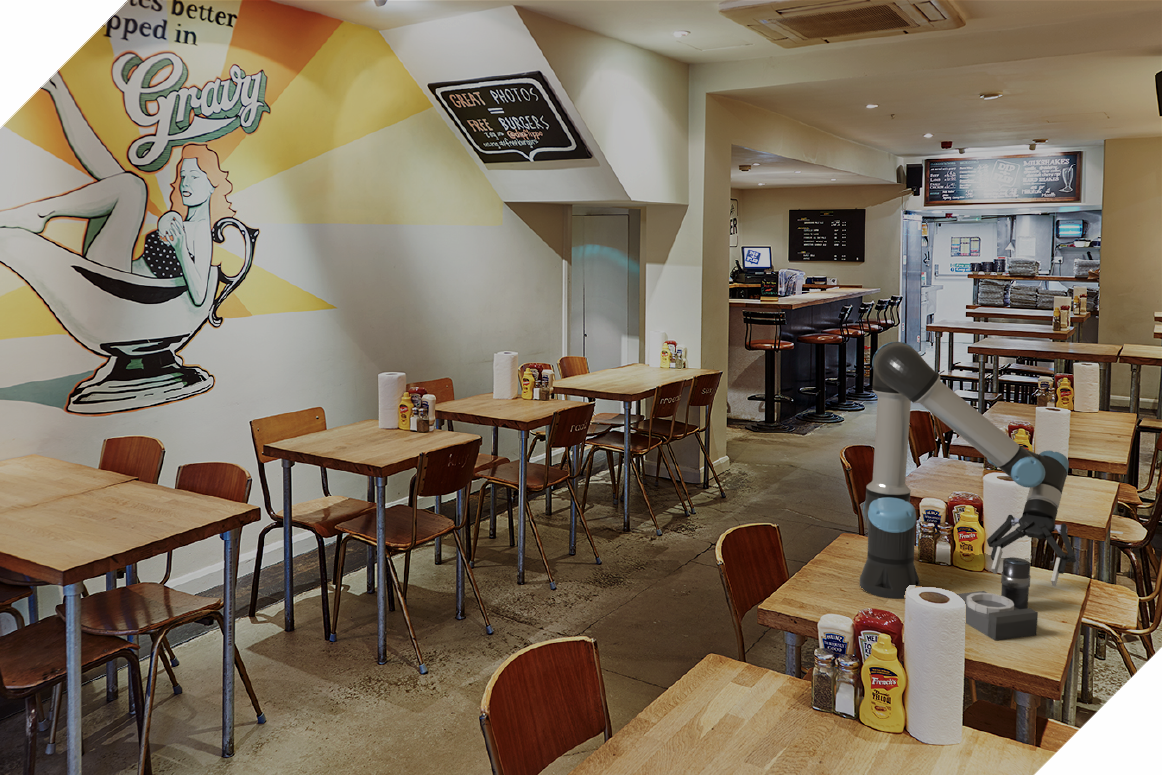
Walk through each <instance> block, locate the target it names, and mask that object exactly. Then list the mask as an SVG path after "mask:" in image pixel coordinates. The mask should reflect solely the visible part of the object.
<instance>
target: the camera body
mask: <svg viewBox="0 0 1162 775" xmlns="http://www.w3.org/2000/svg"><path fill="white" fill-rule="evenodd" d="M956 594H957V595H959V596H960V597H961V598H962V599H963V600H964V601H965V604H966V623H965V624H966V625H968V626H970V627H972V628H974V629H975V630H977V631H978V632H980V633H982V634H984V636H987V637H988V638H990V639H992V640H994V641H1003V640H1011V639H1020V638H1027V637H1034V636H1035V637H1036V636H1037V634H1038V633H1037V632H1038V618H1039V617H1038V615H1039V612H1038V611H1036V610H1034V609H1032V608H1030V607H1029V608H1027V609H1018V608H1016V607H1014V603H1013V601H1012V600H1010V599H1008V598H1006V597H1004V596H1001V595H999V594H996V593H990V592H987V591H985V590H982V591H981V590H979V591H971V592H961V593H956Z"/></svg>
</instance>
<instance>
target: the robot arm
mask: <svg viewBox="0 0 1162 775" xmlns="http://www.w3.org/2000/svg"><path fill="white" fill-rule="evenodd" d="M871 363H872V364H871V365H872V369H873V372H872V373H873V377H872V391H873V393H874V394H875V395H876V396H877V404H876V407H877V408H876V418H875V419H876V420H875V434H874V452H873V453H874V454H873V468H872V469H873V470H872V480H871V482H869V483H868V484H866V489H865V501H864V503H863V507H862V509H863V512H862V513H863V518H864V520H865V524H866V527H867V557H866V561H865V563H864V565H863V568H862V572H861V574H860V575H859V576H860V577H859V587H860V586H861V588H863V589H864V590H865V591H867V592H869V593H871V594H870V595H872V594H873V596H875V595H876V597H880V598H885V599H895V600H899V599H900V600H903V599H904V595H905V591H906V588H907V587H908V586H909V585H916V586H920V587H921V583H920V580H919V576H918V572H917V569H916V566H915V563H914V562H915V540H916V539H915V538H916V536H915V534H916V522H917V514H916V508H915V506H914V505H913V504H912V503H911V489H910V487H909V486H908V485H907V484H906V476H907V462H908V449H909V447H908V446H909V435H910V434H909V433H910V432H909V431H910V420H911V419H910V418H911V405H912V404H920V405H921V406H923V407H924V408H925V409H926V410H928V411H929V412H930V413H931V414H932V415H934V417H936V418H938V419H939V420H940V421H941V422H942V423H944V424H945V426H947V427H948V428H949V429H951V430H952V431H954V433H956V434H957V435H958V436H959V437H961V438H962V439H963V440H965V442H967V443H968V444H969V445H970V446H972V447H973V448H974V449H976V450H977V451H978V452H979V453H980V454H982V455H983V456H984V457H985V458H986V459H987V462H988V464H990V465H992V466H994V467H995V468H998V469H999V470H1001V471H1002V472H1003V473H1005V474H1006V475H1007V476H1009V478H1010V479H1012V481H1013V482H1015V483H1016V484H1017V485H1018V486H1020V487H1023V488H1029V489H1028V493H1027V497H1026V502H1025V503H1024V504H1025V505H1024V508H1023V511H1022V515H1021V517H1019V518H1018V517H1014V516H1013V515H1012V514H1009V515H1007V518H1006V520H1005V521H1004V522H1003V523H1002V524H1001V525H1000V526H999V527H998V528H997V529H995V531H994V532H993V533H992V534H991V535H990V536H989V537H988V538H986V543H987V546H988V547H989V548H992V549H991V553H990V558H991V560H992V565H991V567H990V568H991V571H992V573H993V574H994V575H998V571H999V568H1000V563H1001V560H1002V556H1003V549H1004V548H1006V547H1007V546H1009V545H1011V544H1012V543H1014V542H1015V541H1017V540H1018V539H1021V538H1024V537H1026V536H1027V538H1030V539H1031V538H1032V539H1033V538H1034V539H1035V538H1036V539H1038V540H1042V539H1045V541H1046V542H1047V543H1048V544H1049V546H1050V547H1051V549H1052V550H1053V552H1054V553H1055V554H1056V556H1057V557H1056V559H1055V563H1054V567H1053V571H1052V575H1051V579H1050V582H1051V584H1052V587H1056V586H1057V584H1058V579H1059V575H1060V574H1062V575H1064V573H1065V570H1066V566H1067V564H1068V563H1076V562H1077V559H1076V555H1075V553H1074V552H1075V551H1074V550H1073V546H1072V543H1071V541H1070V538H1069V537H1068V526H1067V524H1066V523H1061V524H1055V523H1056V519H1057V515H1058V509H1059V508H1060V504H1061V499H1062V495H1063V490H1064V487H1065V483H1066V479H1067V478H1068V472H1069V466H1070V465H1069V459H1068V457H1067V456H1066V455H1064V454H1062V453H1061V452H1059V451H1053V450H1043V451H1040V453H1039V454H1038V453H1036V452H1033V451H1032V450H1029V449H1027V448H1025V447H1023V446H1021V445H1020V444H1019V443H1018V442H1016V441H1015V440H1014V439H1012V438H1011V437H1010V436H1009V435H1008V434H1007V433H1005V432H1004V431H1003V430H1001V429H1000V428H999V427H998V426H997V425H995V424H994V423H993V422H991V421H990V420H989V419H988V418H987V417H985V416H984V415H983V414H982V413H981V412H980V411H978V410H977V409H976V408H974V407H973V406H972V405H970V404H969V402H967V401H966V400H965V399H963V398H962V397H961V396H960V395H958V394H957V393H956V392H955V391H954V390H952V389H951V388H950V387H949V386H947V385H946V384H945V383H944V382H943V381H942V380H941V375H940V374H939V373H938V372H936V371H935V370H934V369H933V368H932V367H931V366H930V365H929V364H928V363H927V362H926V360H924V359H923V357H922V356H921V355H920V353H919V352H918V351H917V350H916V349H915V348H913V347H912V345H910V344H908V343H906V342H903V341H902V342H901V341H889V342H887V343H885V344H883V345H881V346H880V347H879V348H878V349H877V350H876V352H874V354H873V357H872V362H871ZM911 403H912V404H911ZM1017 524H1018V525H1019V526H1017V527H1016V528H1015V530H1012V531H1011V532H1010V530H1011V529H1012V527H1015V526H1016V525H1017ZM1055 531H1057V533H1058V534H1059V535H1061V538H1062V541H1063V544H1064V546H1065V549H1066V553H1067V554H1066V553H1065V552H1064V551H1063V550H1062V548H1061V547H1060V546H1059V544H1058V543H1057V541H1056V540H1055V538H1054V537H1053V535H1052V533H1054V532H1055ZM1008 532H1009V533H1008ZM861 588H860V589H861ZM864 590H863V591H864ZM865 591H864V592H865ZM867 592H866V593H867ZM869 593H868V594H869ZM904 600H905V599H904Z"/></svg>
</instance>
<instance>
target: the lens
mask: <svg viewBox="0 0 1162 775" xmlns="http://www.w3.org/2000/svg"><path fill="white" fill-rule="evenodd" d="M1030 574H1031V562H1030V561H1029V560H1027V559H1024V558H1020V557H1014V556H1013V557H1005V558H1003V560H1002V571H1001V577H1000V578H1001V579H1000V583H1001V595H1000V596H1004V597H1006V598H1008V599H1010V600H1012V601H1013V603H1014V607H1016V608H1018V609H1027V608H1028V607H1029V592H1030V591H1029V590H1030V586H1031V575H1030Z"/></svg>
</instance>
